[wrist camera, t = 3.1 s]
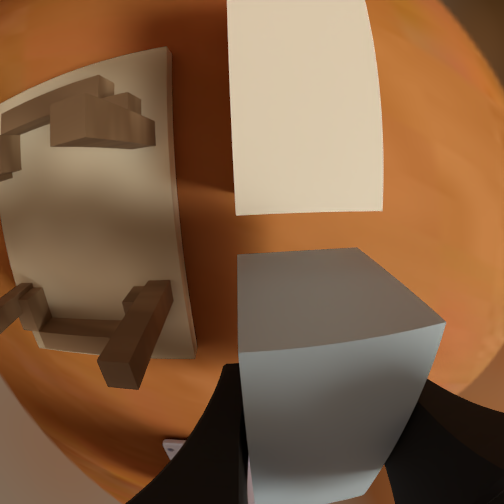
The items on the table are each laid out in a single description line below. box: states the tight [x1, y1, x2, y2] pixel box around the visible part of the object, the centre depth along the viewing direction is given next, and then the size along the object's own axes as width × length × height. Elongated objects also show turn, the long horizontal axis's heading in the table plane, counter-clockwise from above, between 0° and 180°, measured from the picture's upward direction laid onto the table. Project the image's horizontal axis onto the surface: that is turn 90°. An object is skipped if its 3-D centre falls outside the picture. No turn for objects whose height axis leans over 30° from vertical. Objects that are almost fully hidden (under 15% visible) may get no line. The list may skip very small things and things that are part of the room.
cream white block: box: [227, 0, 383, 216], centre depth 8 cm, size 8×4×5 cm, turn 2°
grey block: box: [237, 248, 446, 504], centre depth 8 cm, size 8×4×5 cm, turn 3°
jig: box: [0, 46, 197, 390], centre depth 9 cm, size 14×10×6 cm
